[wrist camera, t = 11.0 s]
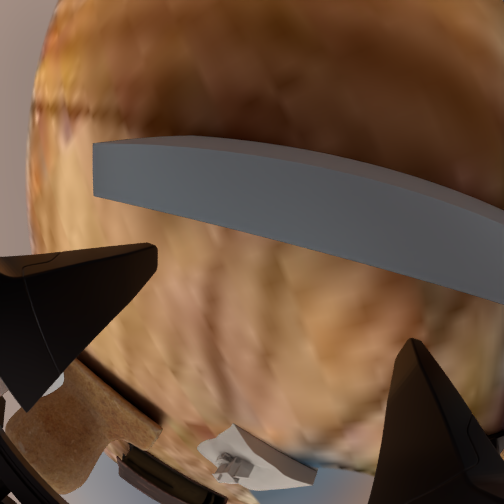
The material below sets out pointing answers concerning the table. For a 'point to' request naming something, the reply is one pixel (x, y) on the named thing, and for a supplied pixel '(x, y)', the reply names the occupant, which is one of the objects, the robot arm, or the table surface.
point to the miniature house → (253, 462)
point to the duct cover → (313, 205)
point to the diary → (163, 480)
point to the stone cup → (77, 428)
